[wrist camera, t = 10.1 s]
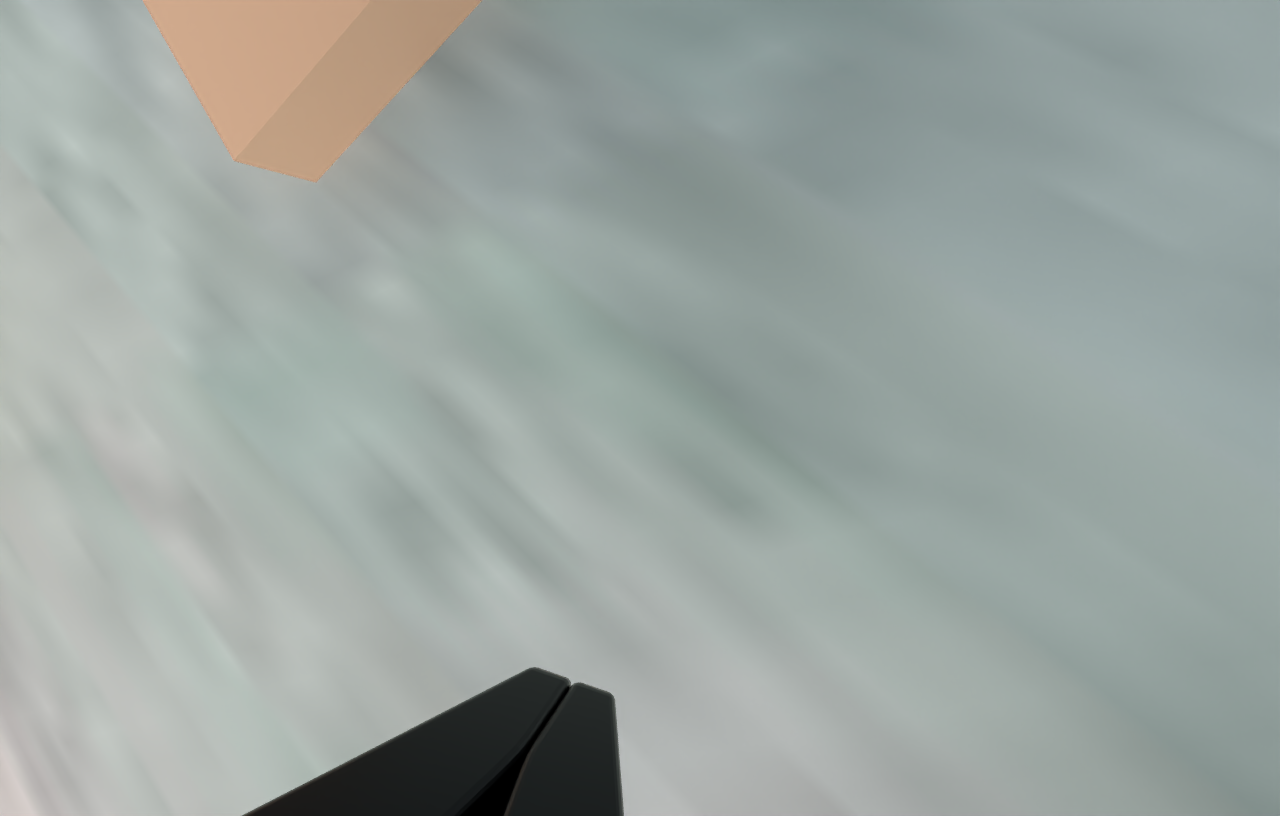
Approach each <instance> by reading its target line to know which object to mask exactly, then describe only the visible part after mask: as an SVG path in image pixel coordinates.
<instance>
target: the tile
mask: <svg viewBox="0 0 1280 816" xmlns="http://www.w3.org/2000/svg"><path fill="white" fill-rule="evenodd" d="M481 1H482V0H143V2H144V4H145V6H146V7H147V9H148V11H149V13H150V14H151V16H152V18H153V20H154V21H155V23H156V25H157V27H158V28H159V30H160V32H161V34H162V36H163V37H164V39H165V41H166V43H167V44H168V46H169V48H170V50H171V51H172V53H173V55H174V57H175V58H176V60H177V62H178V64H179V65H180V67H181V69H182V71H183V72H184V74H185V76H186V78H187V79H188V81H189V83H190V85H191V86H192V88H193V90H194V92H195V93H196V95H197V97H198V99H199V101H200V102H201V104H202V106H203V108H204V109H205V111H206V113H207V115H208V116H209V118H210V120H211V122H212V123H213V125H214V127H215V129H216V130H217V132H218V134H219V136H220V137H221V139H222V141H223V143H224V144H225V146H226V148H227V150H228V151H229V153H230V155H231V157H232V159H233V160H234V161H236V162H240V163H244V164H248V165H252V166H255V167H259V168H263V169H267V170H270V171H274V172H278V173H282V174H286V175H289V176H293V177H297V178H301V179H305V180H308V181H312V182H317V181H318V180H319V179H320V178H321V177H322V175H323V174H324V173H325V172H326V171H327V170H328V169H329V168H330V167H331V166H332V164H333V163H334V162H335V161H336V160H337V159H338V158H339V157H340V156H341V155H342V153H343V152H344V151H345V150H346V149H347V148H348V147H349V146H350V145H351V144H352V143H353V141H354V140H355V139H356V138H357V137H358V136H359V135H360V134H361V133H362V132H363V130H364V129H365V128H366V127H367V126H368V125H369V124H370V123H371V122H372V121H373V120H374V118H375V117H376V116H377V115H378V114H379V113H380V112H381V111H382V110H383V109H384V107H385V106H386V105H387V104H388V103H389V102H390V101H391V100H392V99H393V98H394V97H395V95H396V94H397V93H398V92H399V91H400V90H401V89H402V88H403V87H404V86H405V84H406V83H407V82H408V81H409V80H410V79H411V78H412V77H413V76H414V75H415V73H416V72H417V71H418V70H419V69H420V68H421V67H422V66H423V65H424V64H425V63H426V61H427V60H428V59H429V58H430V57H431V56H432V55H433V54H434V53H435V52H436V50H437V49H438V48H439V47H440V46H441V45H442V44H443V43H444V42H445V41H446V40H447V38H448V37H449V36H450V35H451V34H452V33H453V32H454V31H455V30H456V29H457V27H458V26H459V25H460V24H461V23H462V22H463V21H464V20H465V19H466V18H467V16H468V15H469V14H470V13H471V12H472V11H473V10H474V9H475V8H476V7H477V6H478V4H479V3H480V2H481Z"/></svg>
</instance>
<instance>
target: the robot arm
mask: <svg viewBox="0 0 1280 816" xmlns="http://www.w3.org/2000/svg"><path fill="white" fill-rule="evenodd" d="M242 816H624V810H623V797H622V784H621V772H620V759H619V746H618V733H617V720H616V707H615V699H614V696H613V695H612V694H611V693H609V692H607V691H604V690H601V689H598V688H595V687H592V686H589V685H586V684H584V683H579V682H578V683H575V684H573V685H572V686H571V682H570V680H569V679H568V678H566V677H563V676H560V675H557V674H555V673H552V672H549V671H546V670H543V669H540V668H536V667H533V668H529V669H527V670H525V671H523V672H521V673H519V674H517V675H515V676H513V677H511V678H509V679H507V680H505V681H503V682H501V683H499V684H497V685H495V686H493V687H491V688H490V689H488V690H486V691H484V692H482V693H480V694H478V695H476V696H474V697H472V698H470V699H468V700H466V701H464V702H462V703H460V704H458V705H456V706H455V707H453V708H451V709H449V710H447V711H445V712H443V713H441V714H439V715H437V716H435V717H433V718H431V719H429V720H427V721H425V722H423V723H421V724H419V725H418V726H416V727H414V728H412V729H410V730H408V731H406V732H404V733H402V734H400V735H398V736H396V737H394V738H392V739H390V740H388V741H386V742H384V743H382V744H381V745H379V746H377V747H375V748H373V749H371V750H369V751H367V752H365V753H363V754H361V755H359V756H357V757H355V758H353V759H351V760H349V761H347V762H345V763H344V764H342V765H340V766H338V767H336V768H334V769H332V770H330V771H328V772H326V773H324V774H322V775H320V776H318V777H316V778H314V779H312V780H310V781H309V782H307V783H305V784H303V785H301V786H299V787H297V788H295V789H293V790H291V791H289V792H287V793H285V794H283V795H281V796H279V797H277V798H275V799H273V800H272V801H270V802H268V803H266V804H264V805H262V806H260V807H258V808H256V809H254V810H252V811H250V812H248V813H246V814H244V815H242Z"/></svg>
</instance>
